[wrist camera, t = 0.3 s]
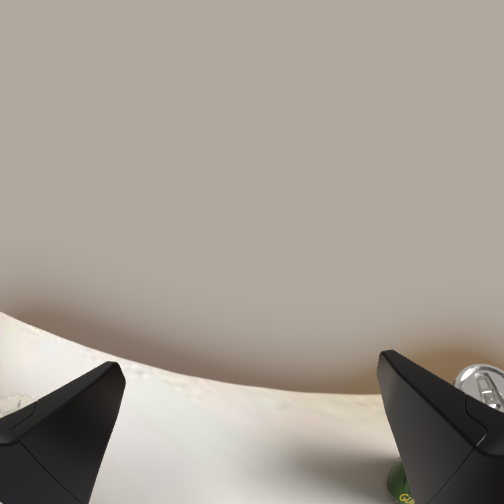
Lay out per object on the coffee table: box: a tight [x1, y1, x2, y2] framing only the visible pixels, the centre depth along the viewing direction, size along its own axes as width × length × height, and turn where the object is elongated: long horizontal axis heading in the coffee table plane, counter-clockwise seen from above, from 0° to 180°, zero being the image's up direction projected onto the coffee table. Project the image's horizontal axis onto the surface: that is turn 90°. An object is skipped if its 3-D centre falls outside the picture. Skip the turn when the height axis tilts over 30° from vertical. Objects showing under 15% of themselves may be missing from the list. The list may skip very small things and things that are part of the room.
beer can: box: [387, 364, 504, 504], centre depth 12 cm, size 5×5×12 cm
